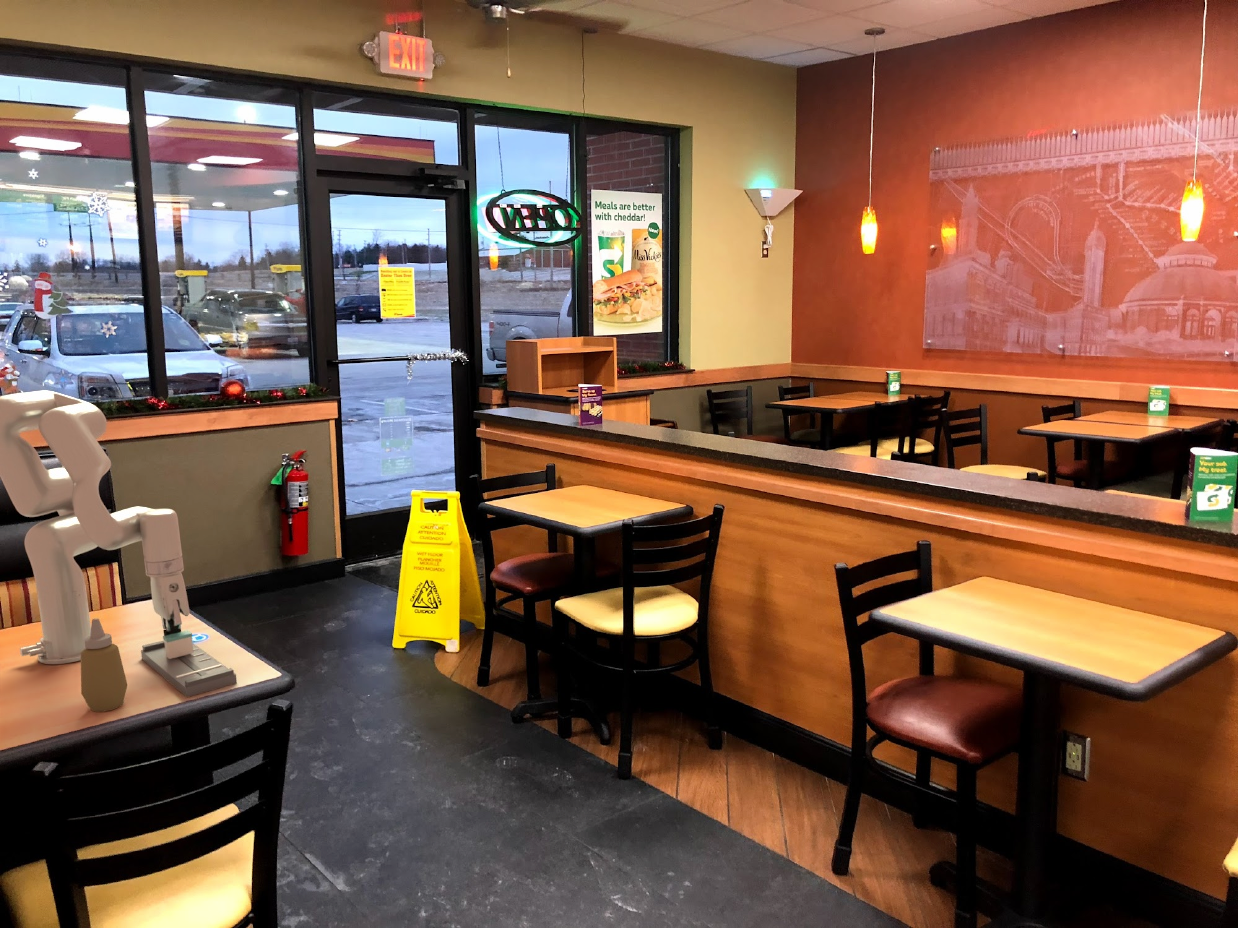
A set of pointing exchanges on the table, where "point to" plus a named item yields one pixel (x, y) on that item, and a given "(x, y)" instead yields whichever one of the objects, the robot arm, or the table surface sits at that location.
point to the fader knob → (178, 644)
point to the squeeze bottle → (102, 671)
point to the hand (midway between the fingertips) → (174, 645)
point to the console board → (188, 669)
